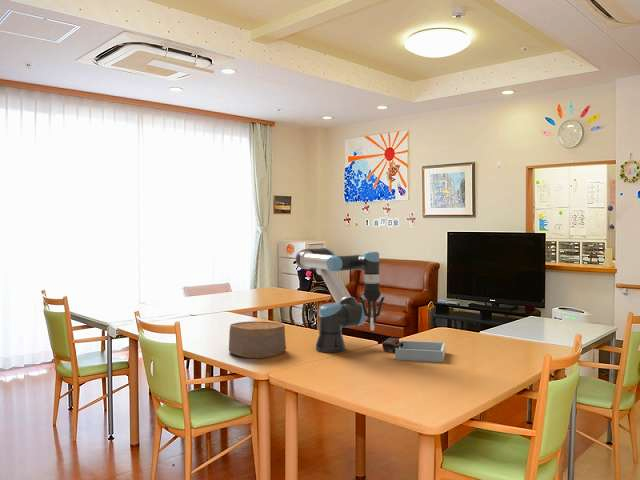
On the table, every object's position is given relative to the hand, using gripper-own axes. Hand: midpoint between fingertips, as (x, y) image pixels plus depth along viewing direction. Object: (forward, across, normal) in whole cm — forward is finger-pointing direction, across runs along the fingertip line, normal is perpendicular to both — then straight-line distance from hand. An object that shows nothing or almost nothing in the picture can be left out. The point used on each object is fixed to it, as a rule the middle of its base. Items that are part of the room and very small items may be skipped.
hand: (372, 329), depth 270 cm
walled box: (+12, +24, 0) cm, 26 cm away
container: (+12, -56, -14) cm, 59 cm away
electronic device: (+8, +9, +2) cm, 12 cm away
